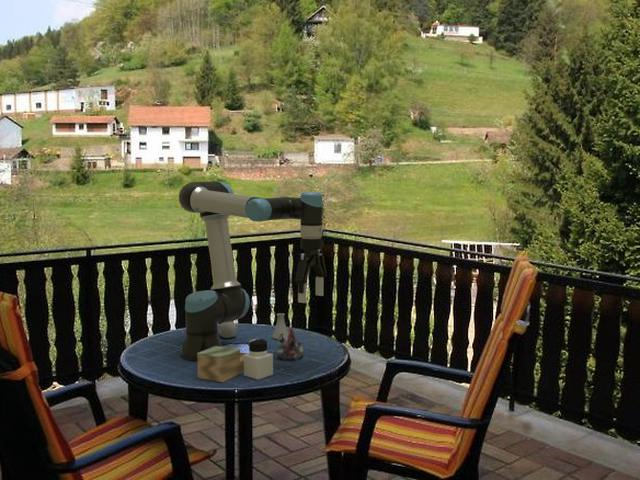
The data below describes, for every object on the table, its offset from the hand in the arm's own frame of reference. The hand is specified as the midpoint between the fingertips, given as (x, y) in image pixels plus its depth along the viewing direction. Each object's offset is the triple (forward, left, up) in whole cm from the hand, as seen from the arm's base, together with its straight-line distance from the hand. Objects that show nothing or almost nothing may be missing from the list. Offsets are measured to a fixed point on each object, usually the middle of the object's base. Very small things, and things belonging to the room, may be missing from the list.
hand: (311, 299), depth 220 cm
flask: (-30, +29, -24) cm, 48 cm away
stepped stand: (-23, -18, -24) cm, 37 cm away
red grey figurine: (-13, +7, -24) cm, 29 cm away
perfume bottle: (-51, +20, -24) cm, 60 cm away
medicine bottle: (-11, -16, -24) cm, 31 cm away
